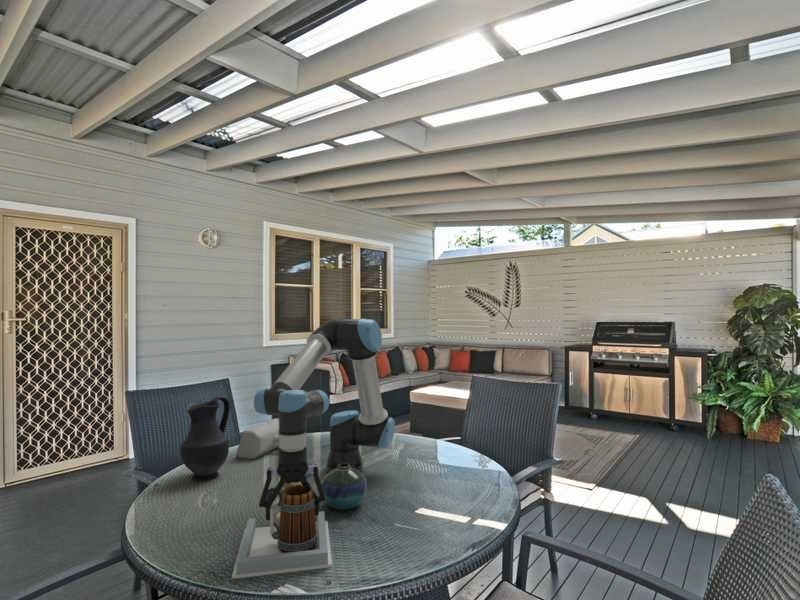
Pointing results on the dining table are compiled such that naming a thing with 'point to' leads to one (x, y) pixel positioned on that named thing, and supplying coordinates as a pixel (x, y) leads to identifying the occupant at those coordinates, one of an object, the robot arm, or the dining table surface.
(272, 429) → the tank
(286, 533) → the mug
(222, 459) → the pitcher
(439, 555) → the dining table surface
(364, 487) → the vase
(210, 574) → the dining table surface
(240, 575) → the grey square tray
